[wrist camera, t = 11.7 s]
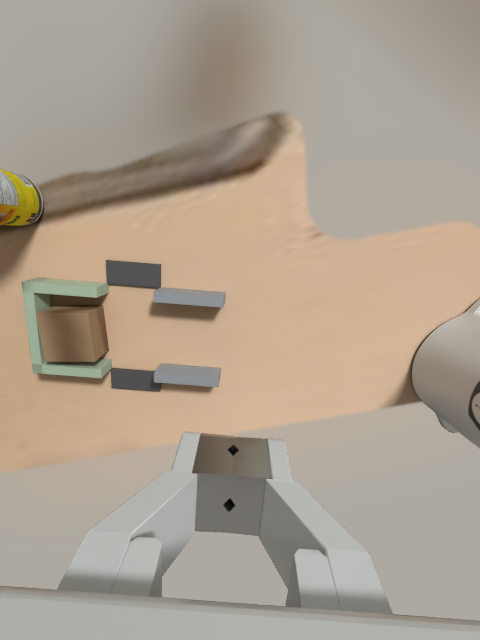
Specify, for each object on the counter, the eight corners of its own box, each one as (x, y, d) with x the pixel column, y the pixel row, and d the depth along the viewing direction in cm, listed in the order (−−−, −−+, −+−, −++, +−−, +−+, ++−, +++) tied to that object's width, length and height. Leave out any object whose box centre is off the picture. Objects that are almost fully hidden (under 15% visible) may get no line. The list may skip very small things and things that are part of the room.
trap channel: (227, 269, 36) (225, 272, 34) (218, 394, 41) (216, 407, 38) (36, 254, 36) (18, 256, 33) (50, 381, 41) (35, 393, 38)
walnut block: (103, 305, 38) (87, 312, 34) (109, 349, 40) (94, 361, 36) (56, 305, 38) (35, 312, 34) (64, 349, 40) (45, 361, 36)
